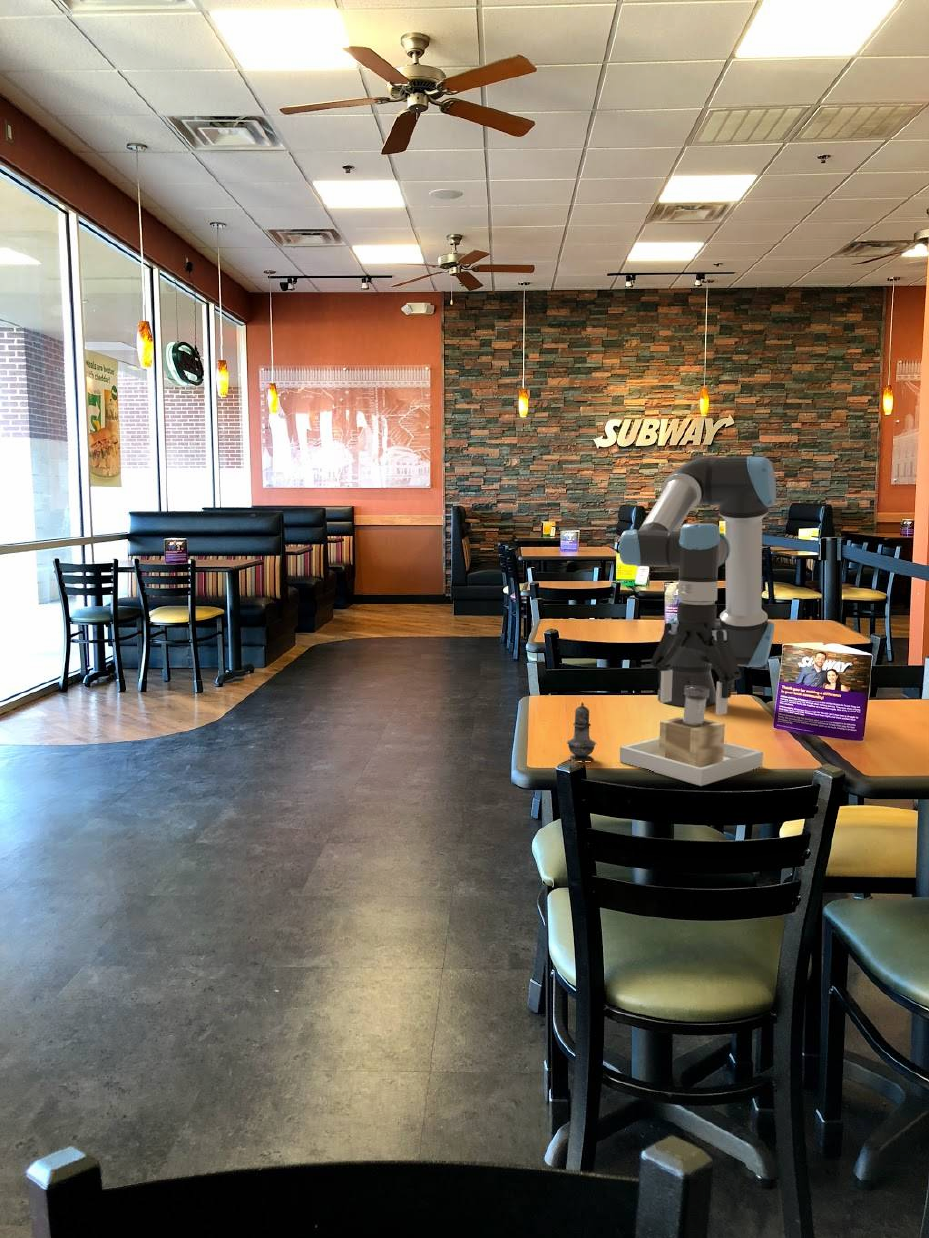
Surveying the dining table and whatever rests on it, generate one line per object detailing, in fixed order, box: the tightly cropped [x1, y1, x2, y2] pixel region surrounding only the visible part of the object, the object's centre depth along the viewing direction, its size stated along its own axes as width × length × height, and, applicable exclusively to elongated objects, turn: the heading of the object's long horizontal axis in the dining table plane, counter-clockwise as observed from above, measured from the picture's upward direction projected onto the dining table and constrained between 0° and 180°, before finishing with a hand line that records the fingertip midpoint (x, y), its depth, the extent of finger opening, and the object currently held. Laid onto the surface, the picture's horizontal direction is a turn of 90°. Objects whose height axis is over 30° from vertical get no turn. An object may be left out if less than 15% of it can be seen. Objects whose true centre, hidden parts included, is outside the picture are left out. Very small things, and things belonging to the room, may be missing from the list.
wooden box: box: [659, 715, 726, 768], centre depth 187 cm, size 9×9×8 cm
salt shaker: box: [566, 702, 597, 762], centre depth 190 cm, size 6×6×12 cm
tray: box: [619, 736, 764, 787], centre depth 188 cm, size 20×20×3 cm
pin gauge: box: [682, 685, 710, 728], centre depth 187 cm, size 5×5×15 cm
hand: (692, 707), depth 186 cm, fingers open, 13 cm apart
